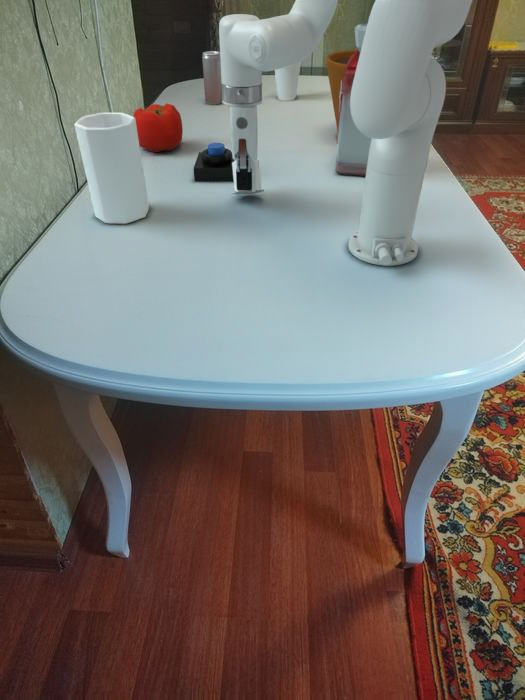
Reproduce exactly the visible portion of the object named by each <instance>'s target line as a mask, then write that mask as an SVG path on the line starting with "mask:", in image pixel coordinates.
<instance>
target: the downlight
mask: <svg viewBox="0 0 525 700" xmlns="http://www.w3.org/2000/svg"><path fill="white" fill-rule="evenodd" d="M232 169H233V179H234V182H233V188H234V191H232V192H231V194H232V195H236V196H242V195H245V196H246V195H254V194H260V193H264V192H265V189H264V188H262V181H261V180H262V179H261V168H260V160H259V159H257V160H255V161H254V159H251V168H250V169H252V190H237V183H236V169H237V160H236V161H234V162H232Z"/></svg>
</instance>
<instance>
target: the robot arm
mask: <svg viewBox="0 0 525 700" xmlns="http://www.w3.org/2000/svg"><path fill="white" fill-rule="evenodd" d="M338 3H339V0H295V1H294V3H293V4H292V8H291V9H290V11H289V13H287V14H283V15H279V16H278V15H277V16H272V17H268V18H263V19H260V18H259V17H258V16H257V15H254V14H247V13H235V14H228V15H227V14H226V15H224V16H222V18H220V20H219V23H218V36H219V37H218V38H219V52H220V61H221V81H222V103H221V104H223V105H225V106H226V107H228V116H229V134H230V146H231V152H232V156H233V159H234V160H235V161H236V160H237V169H236V183H237V190H252V169H250V168H251V159H254V161H255V160H258V151H259V150H258V149H259V148H258V143H259V142H258V141H259V140H258V135H259V134H258V132H259V130H258V106H259V105H261V104H263V72H272V71H275V70H277V69H280V68H283V67H285V66H289V65H292V64H296V63H299V62H301V63H302V62H303V61H305V60H307V59H308V58H309V57H310V56H311V55H312V54H313V53H314V51H315V50H316V48H317V47H318V45H319V44H320V43H321V40H322V39H323V37H324V35H325V33H326V31H327V29H328V28H329V25H330V24H331V21H332V20H333V18H334V15H335V13H336V10H337V6H338ZM472 3H473V0H374V3H373V5H372V8H371V11H370V14H369V16H368V20H367V23H366V24H367V28H366V32H365V36H364V40H363V44H362V48H361V52H360V56H359V60H358V64H357V68H356V72H355V76H354V80H353V85H352V90H351V97H350V110H351V115H352V119H353V121H354V123H355V125H356V127H357V128H358V130H359V131H360V132H361V133H362V134H364V135H365V136H367V137H369V138H372V140H371V144H370V149H369V156H368V162H367V170H366V176H365V177H364V186H363V187H364V188H363V195H362V202H361V210H360V218H359V219H360V220H359V226H358V231H357V232H355V233H353V234H352V235H351V236H350V237H349V239H348V250H349V252H350V253H351V254H352V255H353V256H354V257H355V258H357V259H358V260H361V261H363V262H365V263H368V264H372V265H377V266H384V267H385V266H387V267H388V266H389V267H390V266H391V267H392V266H400V265H404V264H407V263H409V262H411V261H413V260H414V259H415V258H416V257H417V255H418V252H419V244H418V243H417V241H416V240H415V239H414V238H413V232H414V228H415V223H416V217H417V213H418V209H419V208H418V207H419V203H420V198H421V193H422V188H423V183H424V178H425V173H426V169H427V166H428V165H427V164H428V160H429V155H430V150H431V146H432V142H433V139H434V135H435V131H436V128H437V125H438V121H439V119H440V116H441V114H442V113H441V112H442V110H443V107H444V103H445V98H446V92H447V81H446V76H445V72H444V70H443V67H442V65H441V64H440V63H439V62H438V61H437V60H436V59H435V58H434V57H432V55H433V52H434V49H436V48H438V47H441V46H443V45H444V44H446V43H448V42H450V41H451V40H453V38H455V37H456V35H458V34H459V33H460V31H461V29H462V28H463V26H464V25H465V23H466V21H467V17H468V15H469V12H470V10H471V9H470V8H471V6H472Z"/></svg>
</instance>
